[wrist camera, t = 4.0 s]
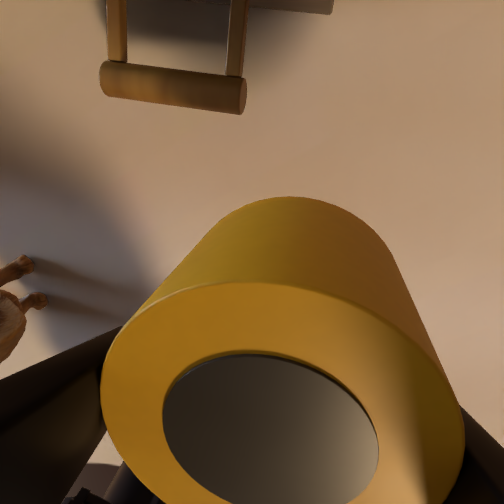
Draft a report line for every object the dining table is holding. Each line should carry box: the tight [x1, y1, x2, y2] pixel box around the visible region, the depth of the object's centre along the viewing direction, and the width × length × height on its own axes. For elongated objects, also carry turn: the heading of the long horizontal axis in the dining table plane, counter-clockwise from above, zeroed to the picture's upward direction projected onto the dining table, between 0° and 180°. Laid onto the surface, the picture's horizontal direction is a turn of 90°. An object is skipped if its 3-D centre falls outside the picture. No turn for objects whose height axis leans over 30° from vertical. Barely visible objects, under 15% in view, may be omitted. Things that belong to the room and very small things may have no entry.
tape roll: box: [100, 196, 465, 504], centre depth 8 cm, size 6×6×5 cm
